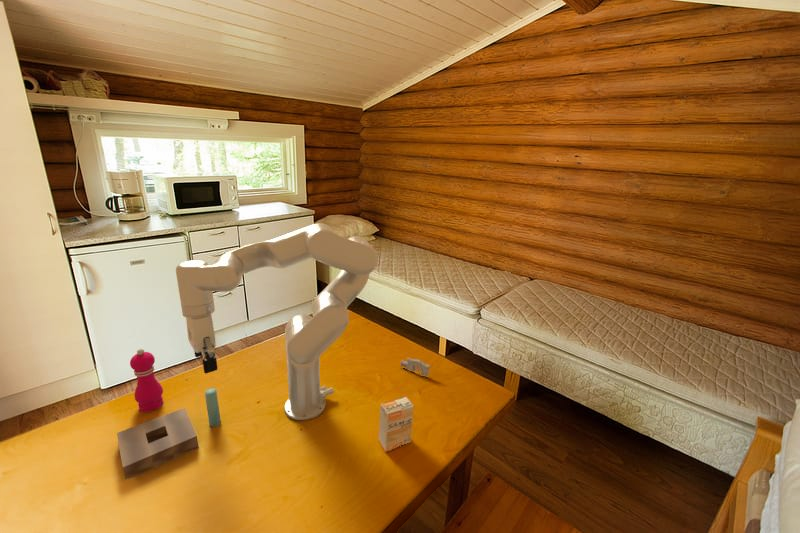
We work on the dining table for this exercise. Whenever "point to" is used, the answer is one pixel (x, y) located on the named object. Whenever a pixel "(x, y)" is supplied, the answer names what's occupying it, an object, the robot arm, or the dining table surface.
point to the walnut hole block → (156, 442)
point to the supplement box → (395, 423)
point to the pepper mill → (146, 382)
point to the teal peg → (212, 407)
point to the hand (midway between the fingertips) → (206, 363)
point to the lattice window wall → (412, 362)
